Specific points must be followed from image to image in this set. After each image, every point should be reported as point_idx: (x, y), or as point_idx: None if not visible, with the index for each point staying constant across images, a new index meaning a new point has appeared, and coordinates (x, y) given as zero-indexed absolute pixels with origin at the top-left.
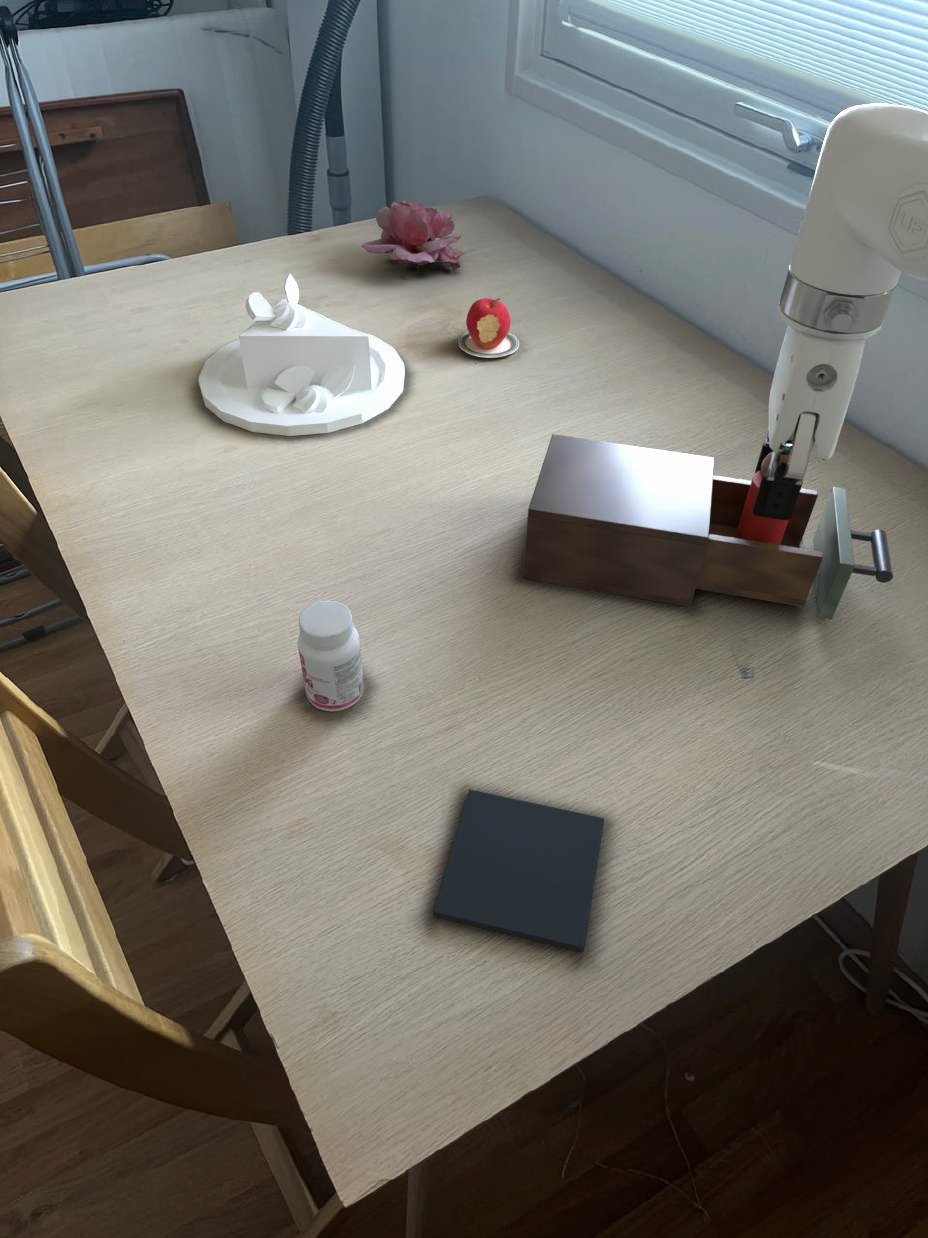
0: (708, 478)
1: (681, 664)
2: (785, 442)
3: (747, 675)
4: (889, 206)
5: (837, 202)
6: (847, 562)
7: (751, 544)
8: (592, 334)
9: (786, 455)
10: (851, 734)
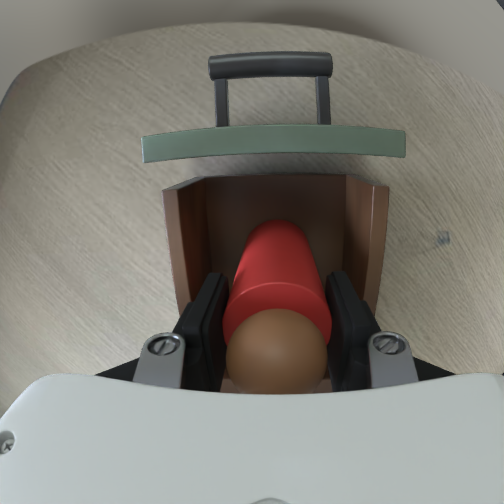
0: (228, 384)
1: (434, 299)
2: (200, 380)
3: (446, 237)
4: None
5: None
6: (400, 143)
7: (373, 307)
8: (3, 366)
9: (291, 391)
10: (490, 142)
